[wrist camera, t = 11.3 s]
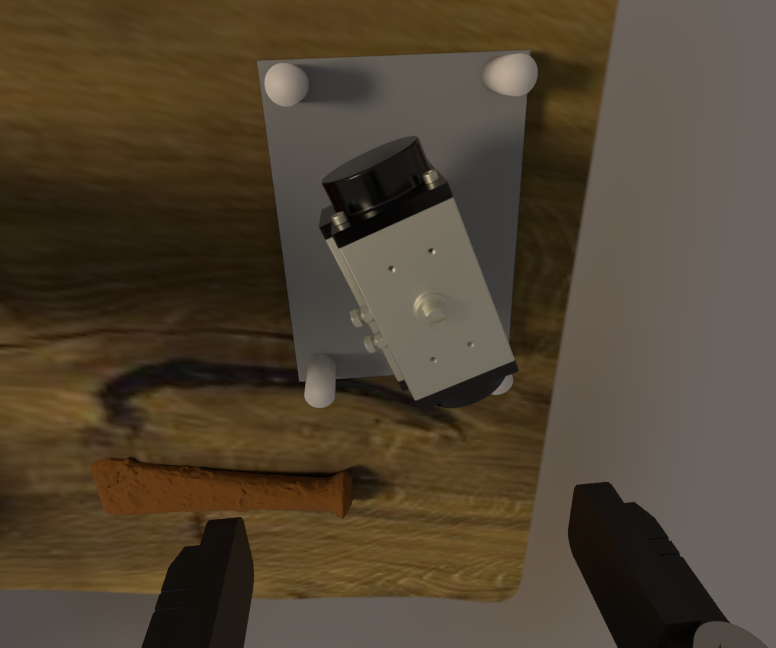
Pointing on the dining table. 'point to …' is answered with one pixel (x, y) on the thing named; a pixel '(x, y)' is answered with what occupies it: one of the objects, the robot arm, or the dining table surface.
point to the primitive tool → (213, 489)
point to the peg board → (367, 131)
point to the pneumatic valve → (415, 275)
